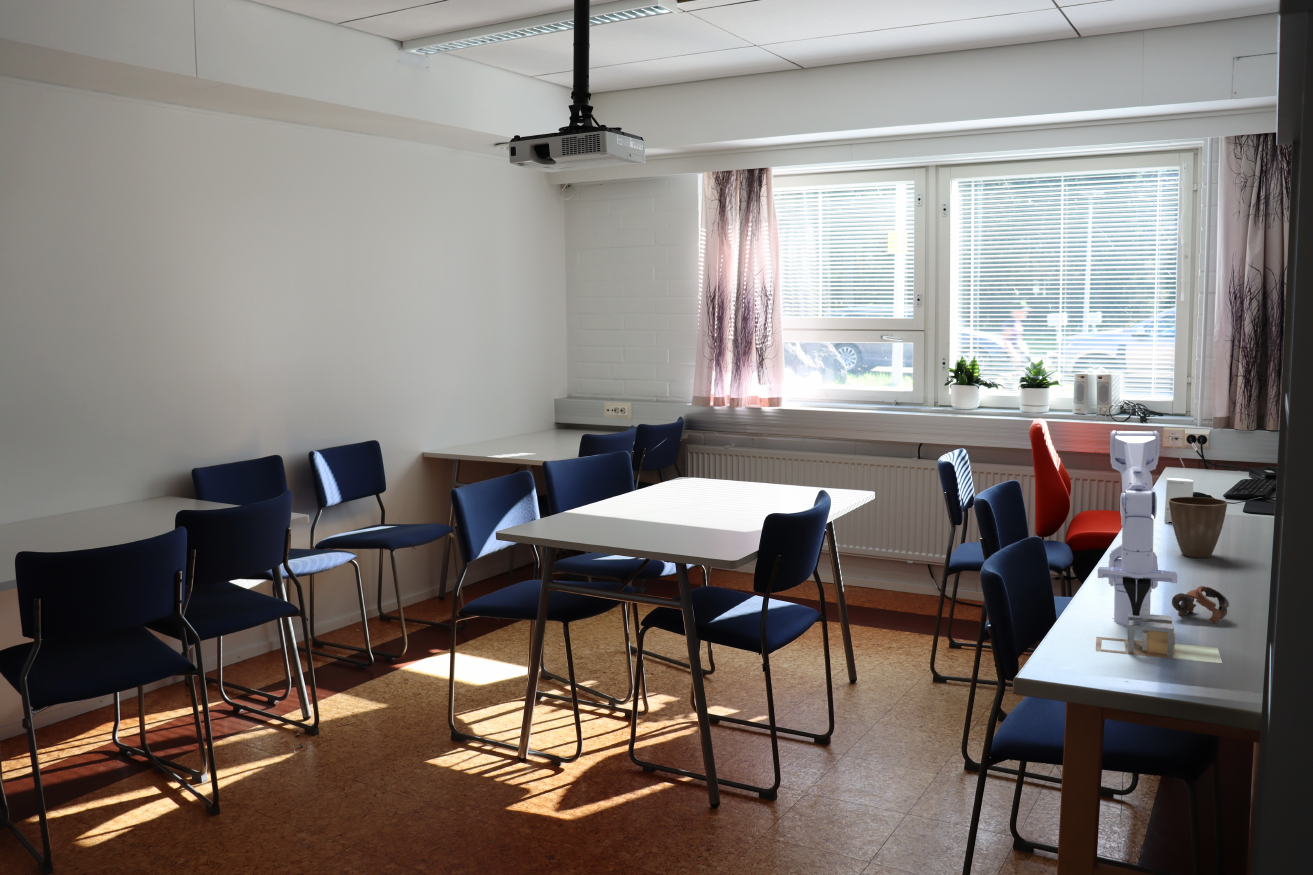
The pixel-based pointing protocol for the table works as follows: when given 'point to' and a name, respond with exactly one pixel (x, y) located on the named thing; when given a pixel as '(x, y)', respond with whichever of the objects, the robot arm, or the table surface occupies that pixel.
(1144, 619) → the paddle
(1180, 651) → the board
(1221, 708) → the table surface
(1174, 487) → the skincare box
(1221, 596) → the brown headphones
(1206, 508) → the plant pot
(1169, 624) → the tunnel
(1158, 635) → the block
